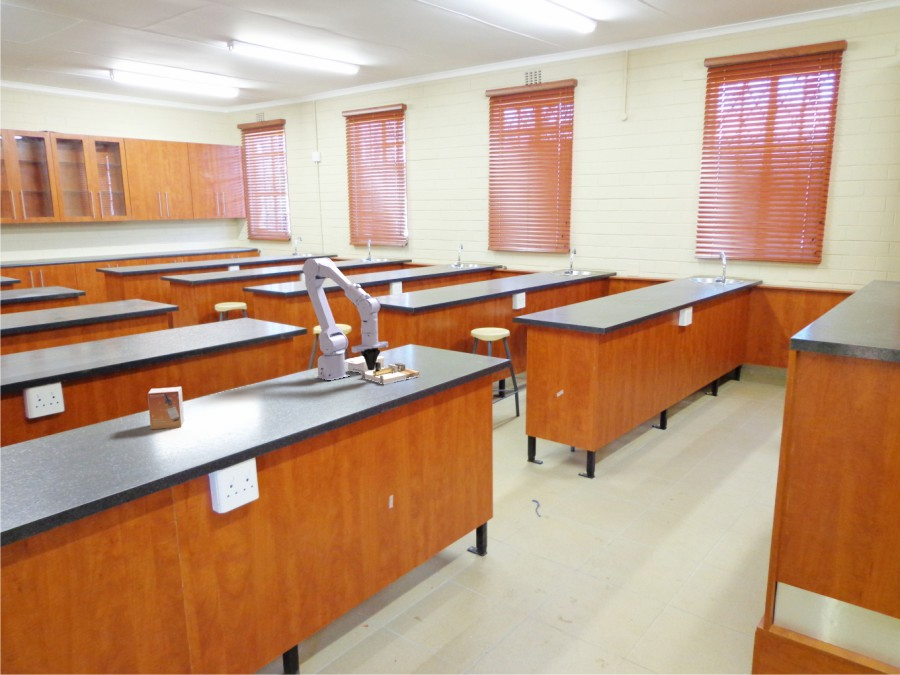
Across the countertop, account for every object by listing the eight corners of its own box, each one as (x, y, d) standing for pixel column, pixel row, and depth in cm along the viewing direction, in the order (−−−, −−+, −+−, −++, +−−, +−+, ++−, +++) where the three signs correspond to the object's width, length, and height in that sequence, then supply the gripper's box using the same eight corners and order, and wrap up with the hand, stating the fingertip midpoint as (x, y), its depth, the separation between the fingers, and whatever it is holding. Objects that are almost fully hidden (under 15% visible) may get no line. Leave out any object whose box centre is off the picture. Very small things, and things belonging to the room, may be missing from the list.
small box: (150, 430, 166) (146, 393, 164) (154, 423, 171) (150, 388, 169) (181, 427, 168) (178, 391, 166) (184, 421, 173) (181, 385, 171)
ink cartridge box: (369, 366, 240) (341, 372, 228) (369, 354, 239) (341, 359, 227) (384, 369, 235) (357, 376, 223) (384, 356, 234) (357, 362, 222)
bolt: (376, 375, 215) (376, 363, 214) (373, 374, 217) (372, 362, 216) (394, 371, 221) (393, 360, 220) (390, 370, 222) (390, 359, 221)
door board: (383, 385, 210) (382, 373, 209) (360, 378, 220) (359, 366, 220) (406, 379, 217) (406, 368, 217) (383, 373, 227) (383, 361, 227)
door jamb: (408, 379, 218) (407, 367, 217) (384, 373, 228) (384, 361, 227) (419, 377, 221) (419, 365, 221) (395, 370, 231) (395, 359, 231)
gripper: (359, 336, 204) (360, 375, 207) (393, 331, 214) (394, 368, 216) (347, 333, 209) (349, 371, 212) (381, 328, 219) (382, 365, 222)
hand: (371, 369), depth 214 cm, fingers closed
